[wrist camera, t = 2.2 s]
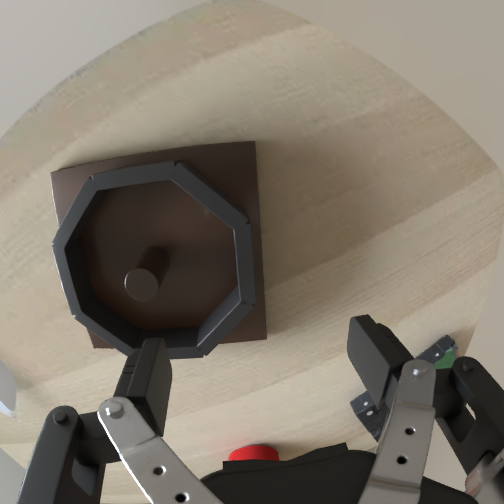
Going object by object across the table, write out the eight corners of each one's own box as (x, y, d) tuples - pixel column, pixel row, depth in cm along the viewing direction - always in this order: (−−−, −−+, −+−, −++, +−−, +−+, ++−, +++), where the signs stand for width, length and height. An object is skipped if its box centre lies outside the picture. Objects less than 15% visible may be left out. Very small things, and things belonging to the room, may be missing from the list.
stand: (54, 171, 21) (17, 179, 15) (253, 141, 22) (263, 137, 17) (96, 343, 26) (77, 378, 21) (265, 334, 27) (274, 373, 22)
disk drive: (371, 430, 35) (455, 372, 33) (378, 443, 32) (464, 384, 31) (347, 399, 32) (446, 330, 30) (354, 415, 29) (458, 343, 27)
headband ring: (59, 181, 20) (40, 186, 17) (243, 153, 21) (246, 153, 18) (98, 341, 25) (88, 359, 22) (256, 332, 26) (260, 352, 23)
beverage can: (217, 452, 33) (220, 528, 22) (258, 434, 32) (269, 515, 21) (248, 469, 35) (256, 536, 24) (287, 452, 34) (303, 523, 23)
